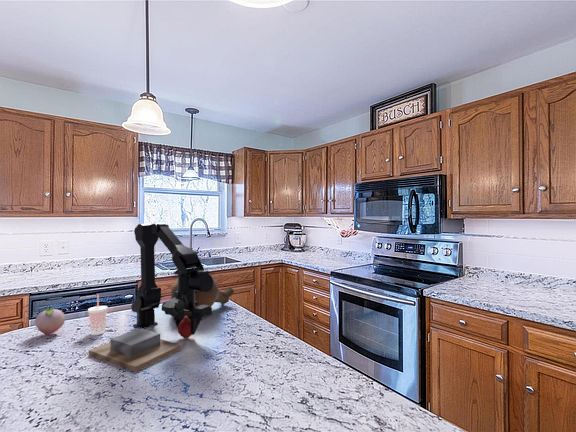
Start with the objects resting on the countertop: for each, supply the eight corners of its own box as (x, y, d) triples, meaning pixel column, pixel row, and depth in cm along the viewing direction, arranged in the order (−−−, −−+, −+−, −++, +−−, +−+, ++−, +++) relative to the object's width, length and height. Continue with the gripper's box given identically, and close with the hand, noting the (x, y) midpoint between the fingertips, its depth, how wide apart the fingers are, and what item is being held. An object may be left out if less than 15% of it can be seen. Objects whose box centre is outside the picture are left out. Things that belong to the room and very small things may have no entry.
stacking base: (88, 355, 92) (88, 338, 92) (136, 336, 106) (136, 322, 106) (135, 372, 82) (135, 353, 82) (181, 349, 96) (181, 333, 96)
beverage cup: (104, 334, 108) (104, 295, 108) (84, 336, 106) (85, 297, 106) (109, 328, 114) (110, 291, 114) (91, 330, 112) (91, 292, 112)
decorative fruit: (68, 334, 108) (68, 306, 108) (39, 341, 102) (39, 312, 102) (61, 328, 114) (61, 302, 114) (33, 334, 108) (33, 306, 108)
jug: (174, 326, 117) (236, 320, 138) (187, 277, 116) (247, 279, 138) (155, 304, 131) (214, 302, 152) (167, 261, 131) (224, 265, 152)
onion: (197, 335, 107) (197, 313, 107) (190, 342, 101) (191, 318, 101) (182, 335, 108) (182, 312, 108) (174, 341, 102) (174, 318, 102)
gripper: (148, 290, 102) (148, 336, 102) (188, 296, 93) (188, 347, 93) (174, 283, 112) (174, 325, 112) (213, 289, 103) (213, 334, 103)
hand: (186, 332), depth 105 cm, fingers closed on onion, 6 cm apart
